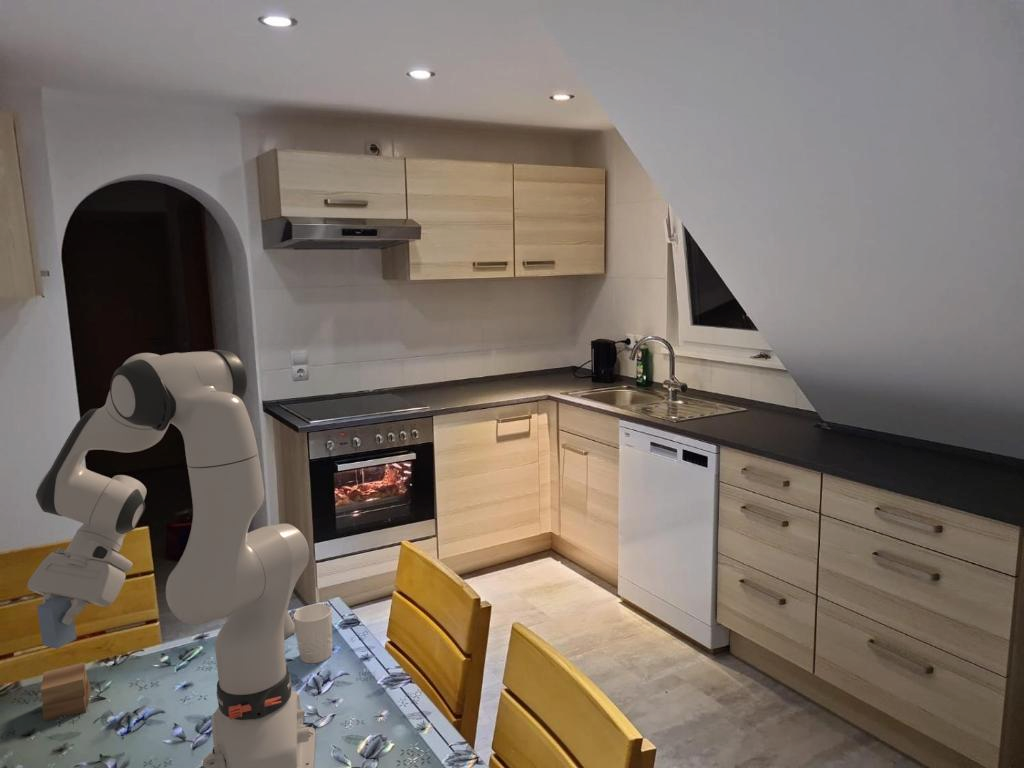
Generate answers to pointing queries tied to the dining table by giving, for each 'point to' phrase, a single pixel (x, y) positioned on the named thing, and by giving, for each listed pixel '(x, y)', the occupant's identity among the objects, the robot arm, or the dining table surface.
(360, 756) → the dining table surface
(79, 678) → the tower top
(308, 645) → the white cup
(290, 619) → the flask
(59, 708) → the tower base
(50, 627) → the pillar
